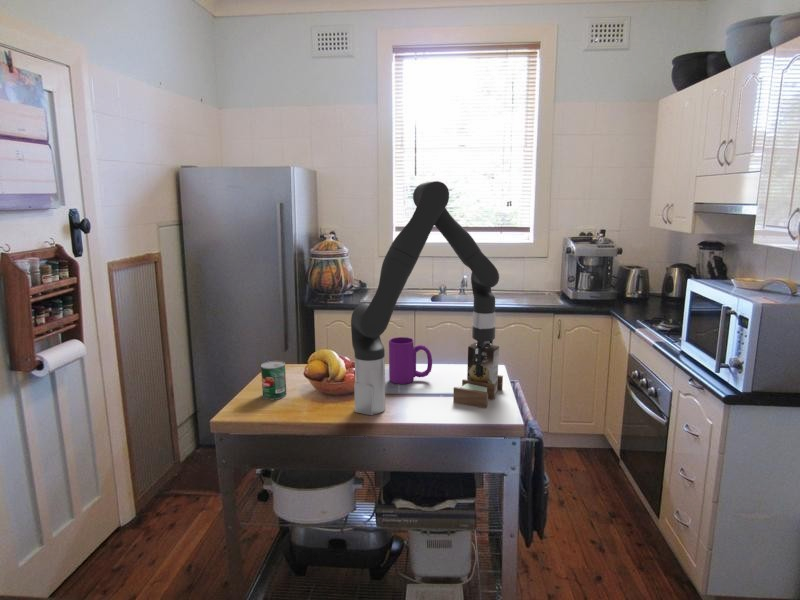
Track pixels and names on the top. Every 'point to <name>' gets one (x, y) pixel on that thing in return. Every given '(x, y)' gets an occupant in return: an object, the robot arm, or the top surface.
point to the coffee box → (484, 365)
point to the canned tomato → (273, 380)
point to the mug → (405, 360)
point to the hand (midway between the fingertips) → (482, 372)
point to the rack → (476, 393)
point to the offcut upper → (474, 387)
